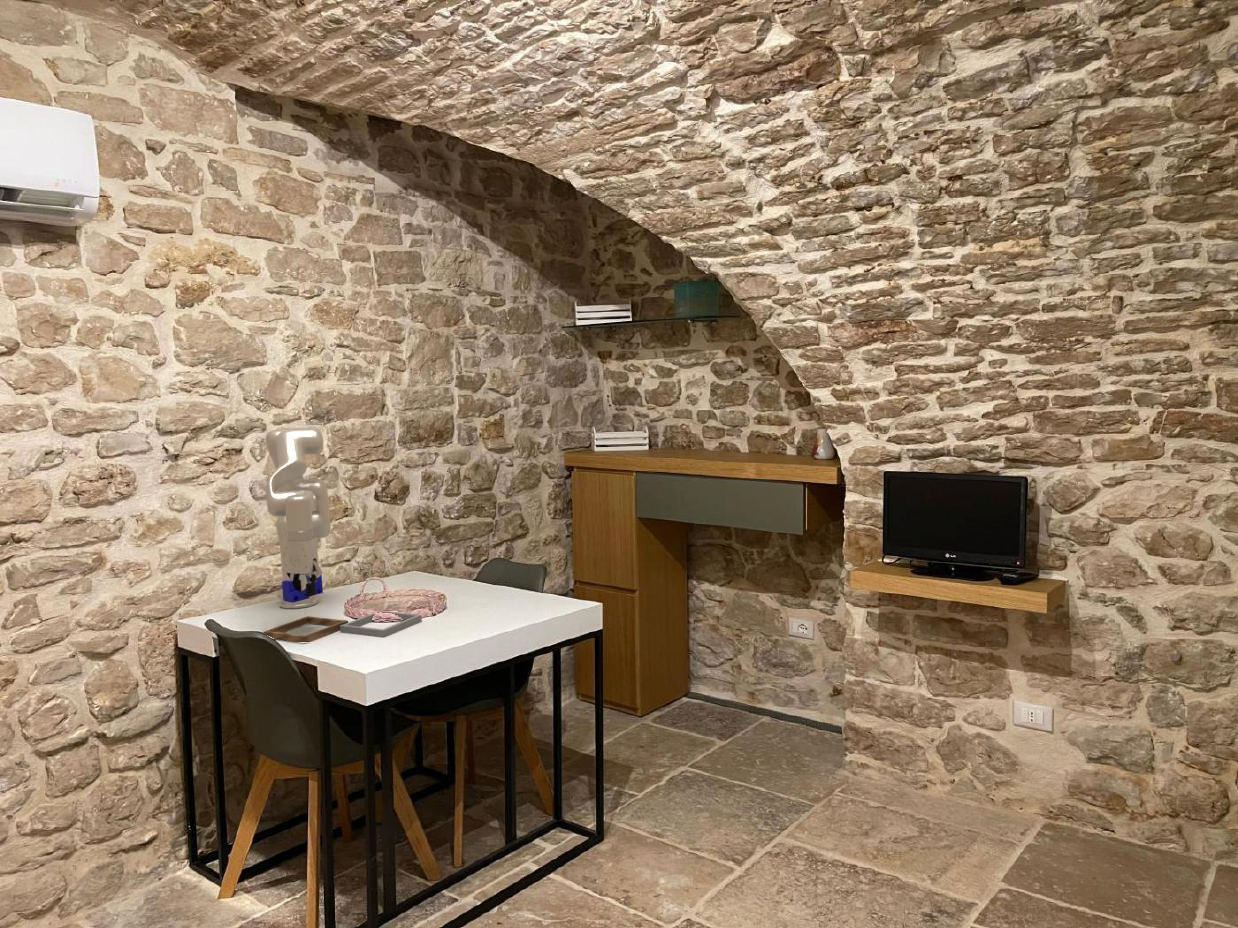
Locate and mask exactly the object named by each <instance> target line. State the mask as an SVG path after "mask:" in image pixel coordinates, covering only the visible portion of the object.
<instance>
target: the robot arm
mask: <svg viewBox="0 0 1238 928" xmlns="http://www.w3.org/2000/svg"><path fill="white" fill-rule="evenodd" d="M265 444H266V449H267V451H268V454H269V456H270V459H271V461H272V462H273V465H274V467H275V470H274V472H273V473H271V475H270V476H269V478H268V480H267V482H266V486H265V497H266V508H267V512H268V514H269V515H270V516H272V517H276V520H275V528H276V534H277V538H278V544H279V551H280V552H279V553H280V564H281V565H280V566H281V576H282V577H281V578H282V581H285V580H288V581H292V582H293V586H294V588H295V590H297V591H302V590H304V589H305V588H306V595H307V597H309V596H310V597H309V598H308V599H305V600H301V601H298V602H294V603H291V602H286V601H283V590H282V589H281V590H279V592H278V593H277V594H276V597H277V598H281V600H280V601H279V603H278V605H279V607H280V608H283V609H301V608H307V607H312V606H314V605H317V604H318V603H319V598H318V597H315V596H316V595H315V594H316V592H315V582H316V581H317V579H318V577H319V576H320V575H321V574H322V575H323V571H322V569H321V567H320V564H319V563H320V562H319V553H318V549H317V547H318V546H317V544H316V539H323V538H327V537H329V535H330V533H331V515H330V504H329V494H328V489H327V488H328V487H327V485H326V482H325V481H324V480H322V479H320V478H308V479H307V478H304V475H305V473H306V471H307V467H308V465H307V459H306V455H319V454H321V453H322V452H323V450H324V437H323V435H322V431H321V430H320V429H319V428H318V427H316V426H311V427H310V426H309V427H289V428H288V427H287V428H277V429H271V430H270V431H268V432H267V433H266V435H265ZM312 595H314V596H312Z"/></svg>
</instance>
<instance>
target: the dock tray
mask: <svg viewBox="0 0 1238 928" xmlns="http://www.w3.org/2000/svg"><path fill="white" fill-rule="evenodd" d="M376 612H377V613H379V612H382V613H392V614H395V615H398V616H399V617H401V618H402V619H403V620H404V621H403V620H401V621H399V622H397V623H395V624H392V625H389V626H388V627H386V628H385V627H384V628H374V627H366V626H364V625H367V624H369V623H372V622H373V621H372V618H373V616H374V615H375V614H372V613H371V614H367V615H365V616H362V617H359V618H357V619H354V620H352V621H348V623H346V624H343V625H341V626H340V633H345V634H351V635H352V634H354V635H361V636H368V637H369V636H371V637H378V638H386V637H388V636H390V635H392V634H395V633H398V632H400V631H403V630H404V629H407V628H410V627H412V626H415V625H416V624H419V623H421V622H423V619H422V618H423V617H422V614H415V613H404V612H396V611H388V610H387V611H386V610H378V611H376Z"/></svg>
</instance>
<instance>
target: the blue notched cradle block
mask: <svg viewBox="0 0 1238 928" xmlns="http://www.w3.org/2000/svg"><path fill="white" fill-rule="evenodd" d="M322 575H323V573H322V574H321V575H320V576H319V577H318V579H317V581H316V582H315V592H316V594H315V595H312V596H313V597H315V596H316V595H321V594H323V593H324V592H323V591H324V590H323V577H322ZM281 587H282V588H281V590H283V601H286V602H291V603H294V602H298V601H301V600H305V599H308V598H309V597H310V596H309V597H307V595H306V588H305V589H304V590H302V591H297V590H295V588H294V586H293V582H292V581H288V580H285V581H283V580H281Z"/></svg>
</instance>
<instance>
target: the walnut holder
mask: <svg viewBox="0 0 1238 928" xmlns="http://www.w3.org/2000/svg"><path fill="white" fill-rule="evenodd" d="M346 623H349V620H347V619H337V618H335V619H334V618H328V617H321V616H320V617H319V616H311V615H310V616H309V615H307V616H304V617H301V618H298V619H295V620H293V621H290V622H287V623H284V624H281V625H279V626H274V627H273V628H270V629H267V630H264V631H262V632H263V633H262V635H263V634H265V635H268V636H270V637H272V638H274V639H275V641H281V640H282V641H284V642H290V643H291V642H292V643H297V642H308V643H310V642H313V641H316V640H319V639H321V638H324V637H327V636H329V635H331V634H335V633H337V632H339V631H340V626H341V625H343V624H346ZM309 624H310V625H318V626H326V627H324V628H321V629H319V630H316V631H313V632H311V633H308V634H305V635H304V634H297V633H289V631H291V630H292V631H293V630H294V629H297V628H300V627H302V626H306V625H309ZM287 632H288V633H287ZM340 632H341V631H340ZM274 639H273V640H274ZM282 641H281V642H282Z"/></svg>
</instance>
